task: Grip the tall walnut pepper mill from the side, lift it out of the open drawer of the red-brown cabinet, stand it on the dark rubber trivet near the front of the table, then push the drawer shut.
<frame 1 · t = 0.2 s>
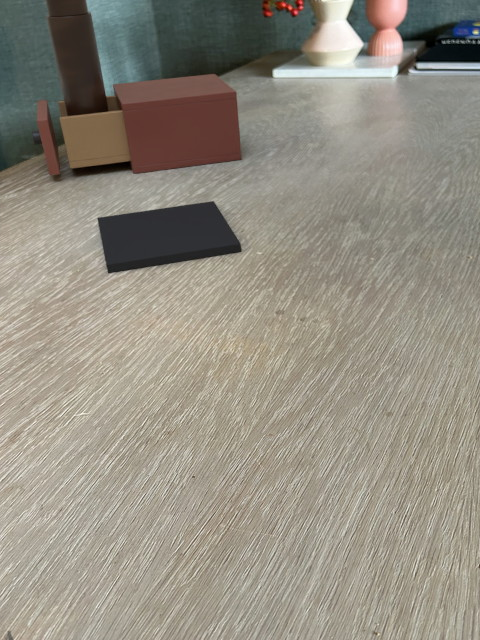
trivet: (166, 237, 64), on the table
pepper mill: (94, 147, 85), point 2 cm above the table, touching drawer
cabinet: (180, 153, 88), on the table
drawer: (90, 131, 84), point 4 cm above the table, slide at 8.5 cm, touching pepper mill
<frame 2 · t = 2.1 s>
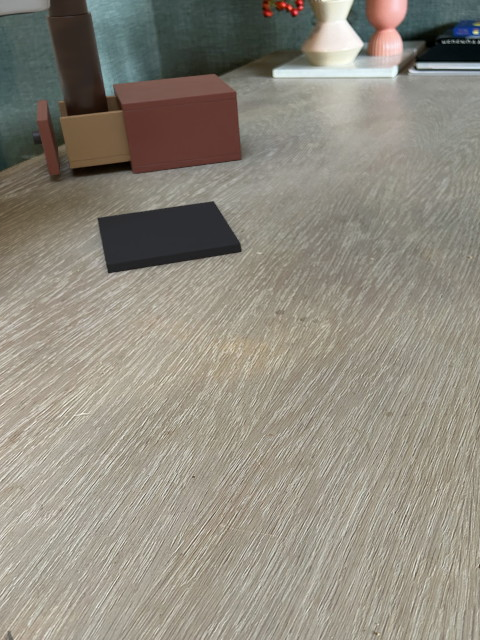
nothing on the table moved.
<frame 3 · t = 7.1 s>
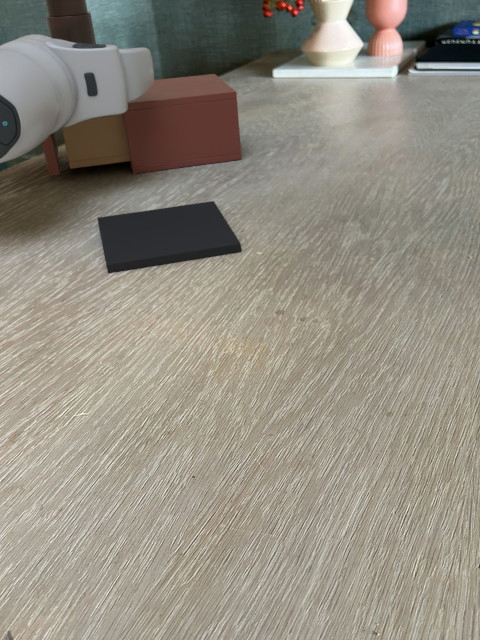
hand: (80, 60, 80), 12 cm above the table, tool horizontal, fingers closed on pepper mill, 5 cm apart
pepper mill: (94, 147, 85), point 2 cm above the table, touching drawer, gripper
everything else where it was.
when the fingers open (11 cm above the table, at t = 18.1 s): pepper mill stays where it is, resting on trivet.
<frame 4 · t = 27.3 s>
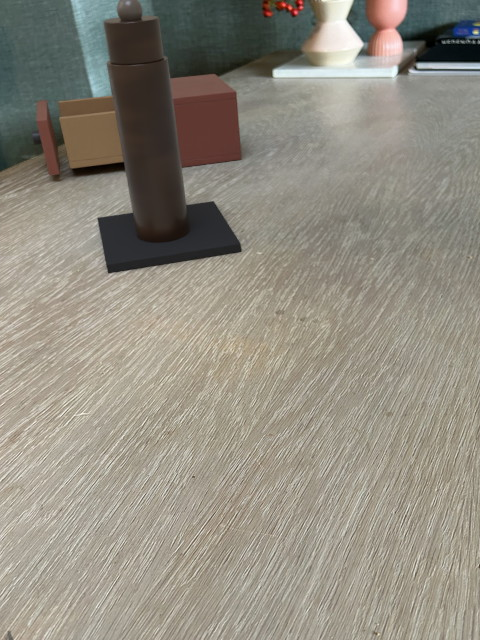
pepper mill: (163, 232, 63), point 1 cm above the table, touching trivet
drawer: (89, 131, 84), point 4 cm above the table, slide at 8.5 cm
everything else where it was.
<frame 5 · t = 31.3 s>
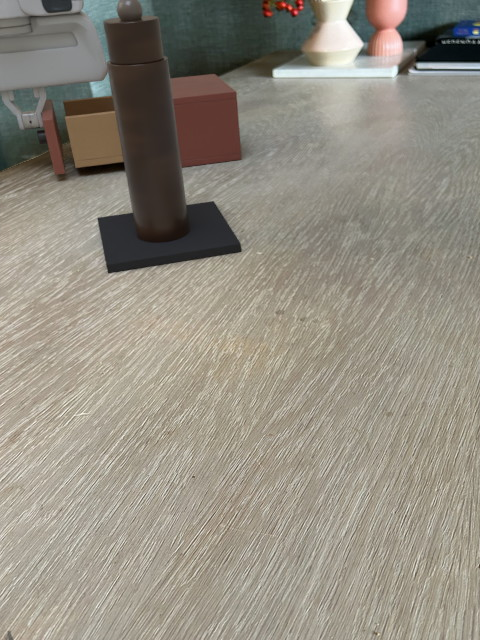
hand: (32, 128, 81), 5 cm above the table, tool pointing down, fingers closed
drawer: (94, 130, 84), point 4 cm above the table, slide at 7.9 cm, touching gripper
everything else where it was.
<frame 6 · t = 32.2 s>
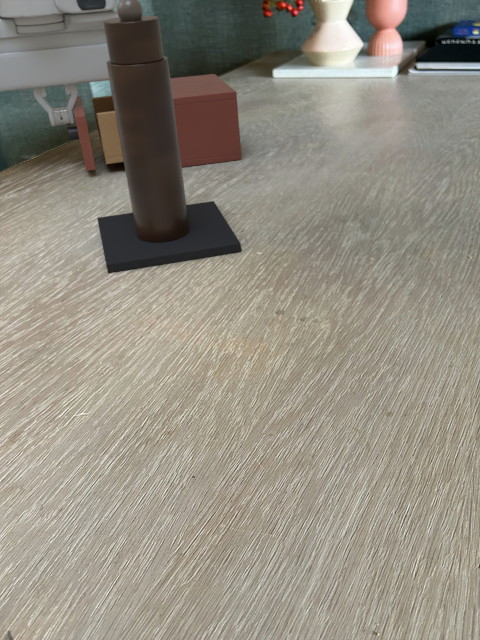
hand: (63, 124, 82), 5 cm above the table, tool pointing down, fingers closed
drawer: (124, 127, 84), point 4 cm above the table, slide at 4.3 cm, touching gripper
everything else where it was.
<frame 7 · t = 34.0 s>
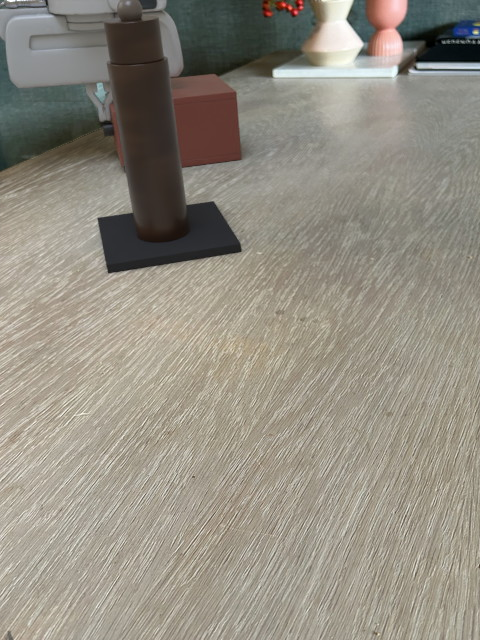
hand: (106, 120, 83), 5 cm above the table, tool pointing down, fingers closed, pressing on drawer
drawer: (157, 123, 85), point 4 cm above the table, slide at 0.0 cm, touching cabinet, gripper
everything else where it was.
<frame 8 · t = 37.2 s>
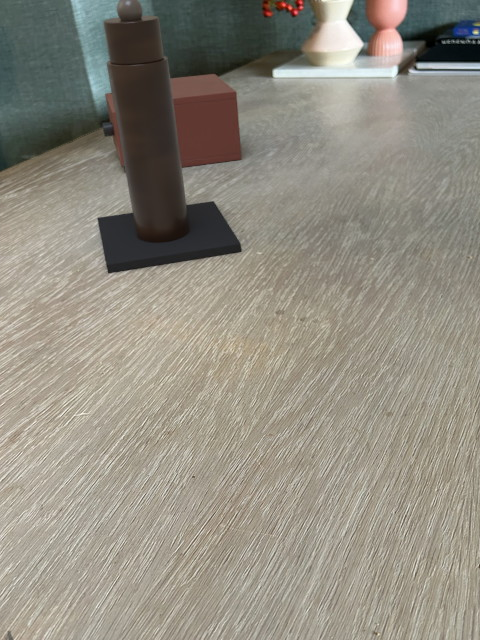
drawer: (157, 123, 85), point 4 cm above the table, slide at 0.0 cm, touching cabinet
everything else where it was.
at the end: pepper mill 0.7 cm off-centre on the trivet, point 0.8 cm above the trivet's base; pepper mill tilted 0°; drawer slide at 0.0 cm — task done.
